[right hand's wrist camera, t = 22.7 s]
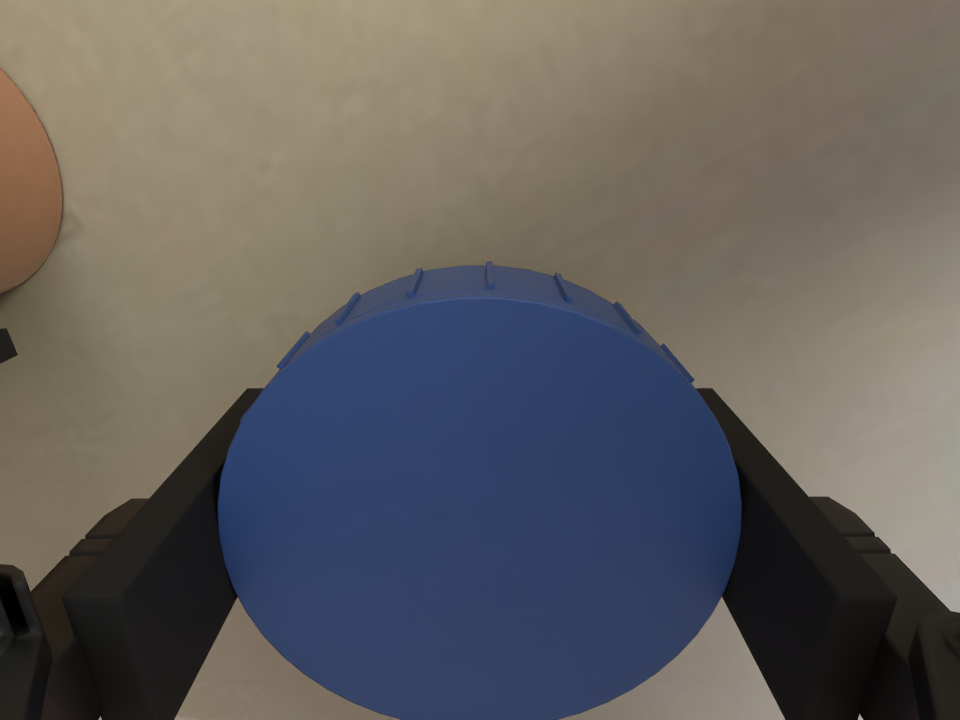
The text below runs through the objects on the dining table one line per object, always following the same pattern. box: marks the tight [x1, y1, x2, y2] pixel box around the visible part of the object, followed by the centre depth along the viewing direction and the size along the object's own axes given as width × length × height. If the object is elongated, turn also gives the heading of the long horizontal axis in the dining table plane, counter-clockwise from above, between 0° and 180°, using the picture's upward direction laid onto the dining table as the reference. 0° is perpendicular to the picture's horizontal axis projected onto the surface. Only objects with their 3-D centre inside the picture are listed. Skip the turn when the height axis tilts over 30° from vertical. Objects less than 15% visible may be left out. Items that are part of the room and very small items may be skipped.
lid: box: [217, 262, 742, 720], centre depth 12 cm, size 9×9×2 cm
